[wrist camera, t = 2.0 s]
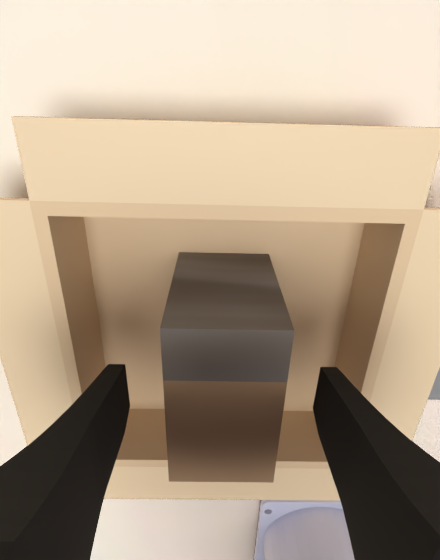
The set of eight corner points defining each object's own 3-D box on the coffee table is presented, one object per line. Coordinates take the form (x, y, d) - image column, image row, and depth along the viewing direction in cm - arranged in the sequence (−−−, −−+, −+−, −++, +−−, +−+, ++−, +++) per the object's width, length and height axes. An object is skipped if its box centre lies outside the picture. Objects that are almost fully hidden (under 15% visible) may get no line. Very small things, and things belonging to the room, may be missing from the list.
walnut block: (257, 375, 19) (273, 482, 14) (182, 374, 19) (168, 481, 14) (268, 254, 16) (294, 330, 11) (179, 252, 16) (159, 328, 11)
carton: (364, 442, 22) (389, 501, 19) (69, 439, 22) (43, 497, 19) (457, 123, 14) (528, 130, 11) (-7, 110, 14) (-75, 114, 11)
